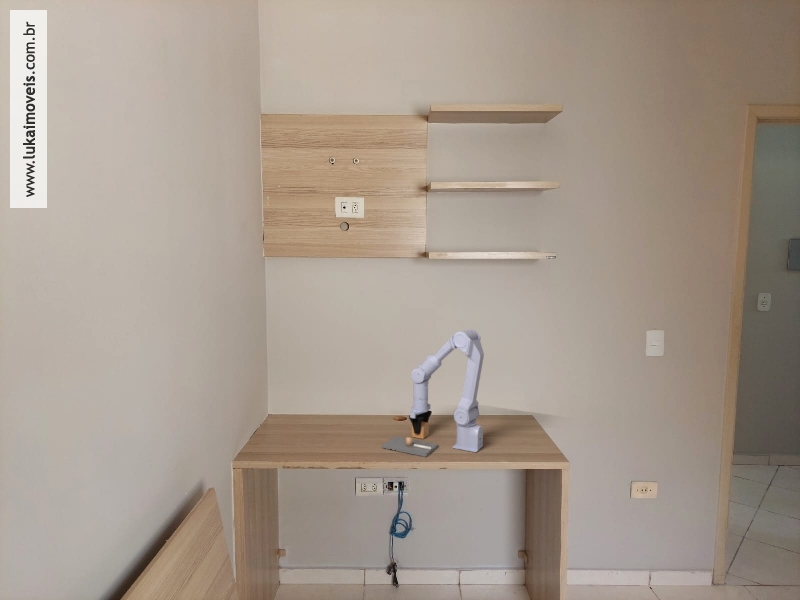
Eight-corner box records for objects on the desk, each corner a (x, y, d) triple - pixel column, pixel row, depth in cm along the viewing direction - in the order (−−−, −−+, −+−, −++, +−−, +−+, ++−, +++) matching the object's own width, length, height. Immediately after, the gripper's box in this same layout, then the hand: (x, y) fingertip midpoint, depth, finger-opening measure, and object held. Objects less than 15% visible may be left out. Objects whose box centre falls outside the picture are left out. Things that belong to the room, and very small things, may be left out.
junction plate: (438, 446, 193) (438, 436, 193) (425, 456, 183) (426, 445, 183) (395, 438, 201) (395, 428, 201) (381, 447, 192) (381, 437, 191)
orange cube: (428, 434, 206) (428, 422, 205) (423, 438, 201) (423, 426, 201) (417, 432, 208) (417, 420, 208) (411, 436, 204) (412, 424, 203)
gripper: (419, 392, 212) (419, 424, 213) (403, 400, 199) (403, 434, 200) (435, 394, 208) (434, 427, 210) (419, 403, 196) (419, 438, 197)
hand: (420, 431), depth 205 cm, fingers open, 5 cm apart
